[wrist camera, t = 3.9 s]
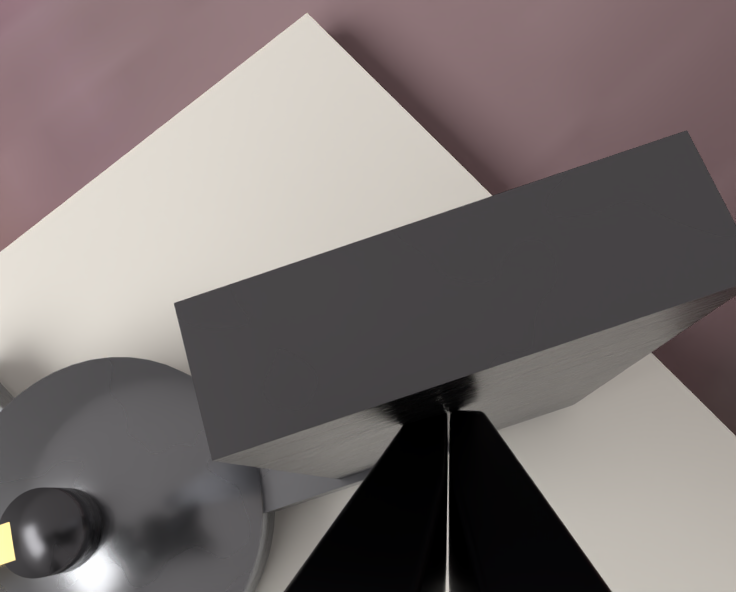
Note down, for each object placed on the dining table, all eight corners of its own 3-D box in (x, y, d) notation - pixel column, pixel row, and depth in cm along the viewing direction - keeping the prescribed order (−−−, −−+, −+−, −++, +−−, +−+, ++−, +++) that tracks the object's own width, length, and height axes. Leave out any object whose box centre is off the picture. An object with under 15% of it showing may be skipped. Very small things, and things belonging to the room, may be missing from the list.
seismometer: (-275, 891, 14) (-1474, 1557, 5) (-289, 450, 16) (-1105, 400, 8) (648, 587, 14) (1006, 750, 5) (486, 189, 16) (537, -161, 8)
